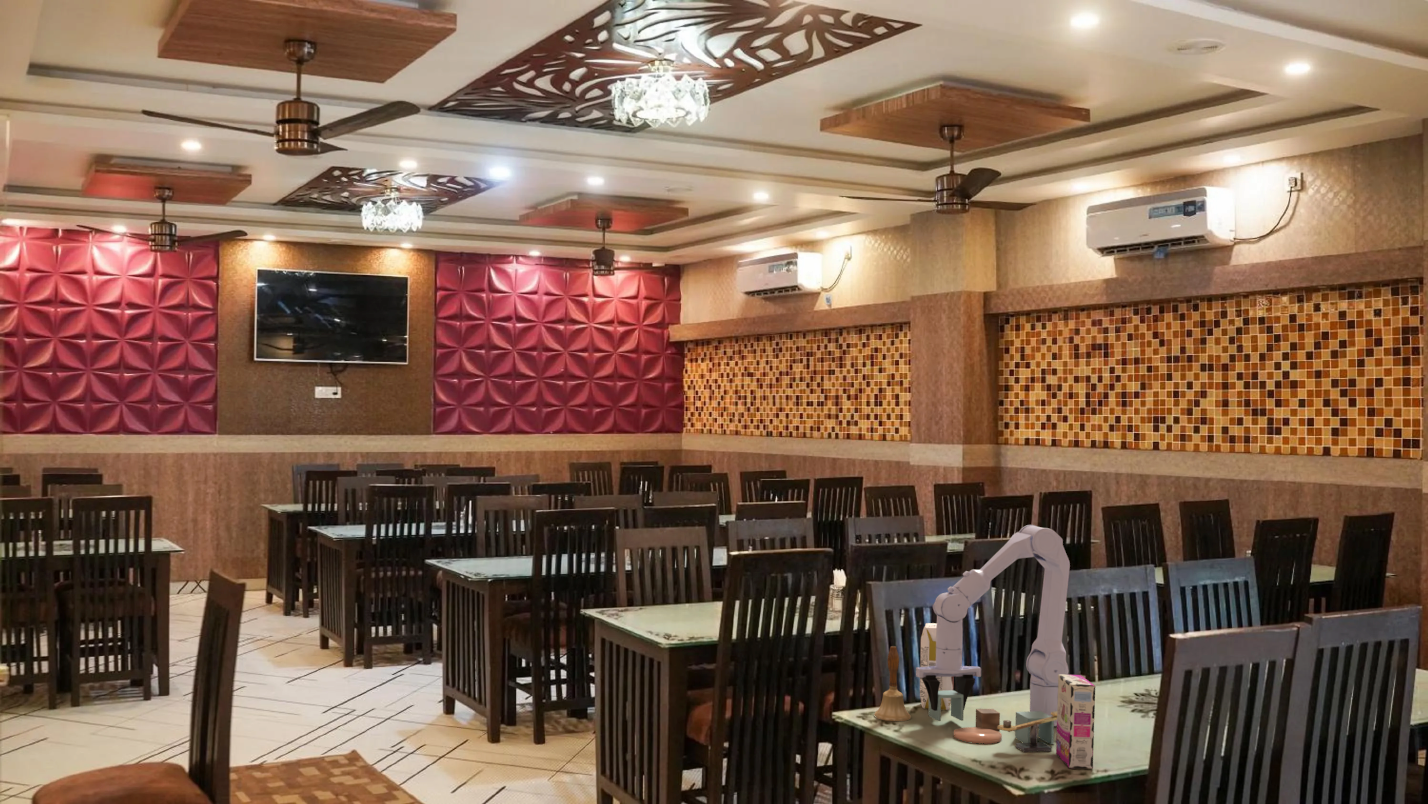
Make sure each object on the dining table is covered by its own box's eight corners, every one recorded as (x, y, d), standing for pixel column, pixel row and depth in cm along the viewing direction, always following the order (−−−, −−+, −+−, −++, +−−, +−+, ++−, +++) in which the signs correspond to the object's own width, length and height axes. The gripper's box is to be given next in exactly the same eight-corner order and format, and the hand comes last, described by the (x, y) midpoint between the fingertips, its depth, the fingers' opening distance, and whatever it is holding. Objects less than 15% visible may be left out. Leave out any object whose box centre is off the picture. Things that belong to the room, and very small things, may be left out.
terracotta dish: (990, 731, 272) (990, 726, 272) (1009, 742, 262) (1009, 738, 262) (946, 732, 270) (946, 727, 270) (964, 744, 260) (964, 739, 260)
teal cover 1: (953, 715, 282) (953, 690, 282) (963, 720, 276) (963, 694, 277) (928, 715, 281) (928, 690, 281) (938, 720, 275) (938, 695, 275)
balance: (1064, 745, 262) (1065, 710, 262) (1073, 750, 258) (1074, 715, 258) (993, 747, 258) (994, 712, 259) (1001, 752, 255) (1002, 717, 255)
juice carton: (918, 709, 292) (920, 627, 292) (921, 701, 300) (923, 621, 300) (951, 711, 290) (953, 629, 290) (953, 703, 298) (955, 623, 299)
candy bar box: (1094, 769, 243) (1096, 685, 244) (1069, 769, 243) (1070, 684, 244) (1080, 754, 254) (1081, 673, 255) (1055, 753, 255) (1056, 672, 255)
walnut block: (992, 726, 277) (993, 708, 277) (999, 731, 273) (999, 712, 273) (975, 726, 276) (975, 708, 276) (981, 731, 272) (982, 712, 272)
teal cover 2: (1040, 737, 268) (1041, 711, 268) (1053, 744, 262) (1053, 717, 262) (1015, 737, 267) (1015, 711, 267) (1027, 745, 261) (1028, 718, 261)
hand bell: (910, 722, 279) (911, 650, 279) (872, 719, 280) (874, 648, 281) (911, 713, 287) (913, 644, 287) (875, 711, 288) (876, 642, 289)
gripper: (972, 644, 283) (971, 704, 283) (911, 644, 280) (910, 705, 280) (985, 649, 276) (984, 711, 276) (922, 650, 274) (921, 713, 273)
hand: (947, 709), depth 278 cm, fingers closed on teal cover 1, 6 cm apart
